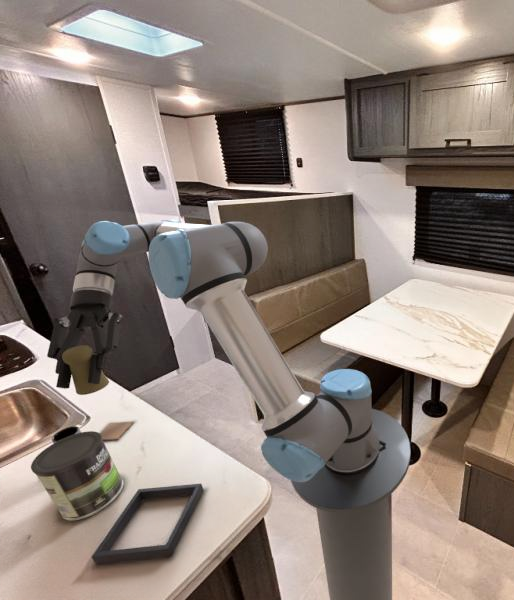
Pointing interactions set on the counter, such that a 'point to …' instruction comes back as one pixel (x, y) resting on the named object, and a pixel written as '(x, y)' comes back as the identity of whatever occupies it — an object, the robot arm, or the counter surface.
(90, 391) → the pepper shaker
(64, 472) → the coffee can
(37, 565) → the counter surface
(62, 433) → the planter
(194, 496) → the open rectangular frame
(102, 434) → the coaster
